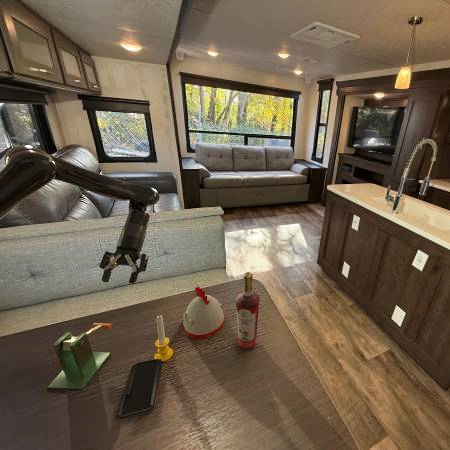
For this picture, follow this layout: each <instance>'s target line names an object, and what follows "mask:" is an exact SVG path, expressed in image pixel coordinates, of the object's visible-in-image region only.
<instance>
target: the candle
mask: <svg viewBox="0 0 450 450" xmlns="http://www.w3.org/2000/svg"><path fill="white" fill-rule="evenodd" d="M156 327H157V328H156V329H157V336H158V338H157V340H155V343H154V345H155V347H156V348H157V350H156V351H157V353H155V354H154V355H153V360H154V359H161V360H162V363H163V362H167V361H169V360H170V359H171V358H172V357H173V355H174V350H173V349H172V348H171V347H169V345H168V344H169V343H170V338H169V337H167V336H166V334H165V325H164V318H163V314H159V315H157V316H156Z"/></svg>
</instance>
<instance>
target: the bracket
mask: <svg viewBox="0 0 450 450" xmlns="http://www.w3.org/2000/svg"><path fill="white" fill-rule="evenodd" d="M71 337H73V334H72V332H71V331H66V332H65V333H64V334H62V336H61V337H60V338H59V339H58V340H57V341H55V342H54V343H53V344H52V347H53V349H54V352H55V354H56V357H57V359H58V361H59V363H60V366H61V369H62V370H61V371H60V372H59V373H58V375H57V376H56V377H55V378H54V379H53V380H52V381H51V382H50V383H49V384H48V385H47V387H46V389H49V390H77V391H79V390H80V391H81V390H82V391H83V390H84V389H85V388H86V386H87V385H88V384H89V383H90V382H91V380H92V379H93V377H94V376H95V375H96V374H97V372H98V371H99V370H100V369H101V367H102V366H103V365H104V364H105V362H106V361H107V359H108V358H109V357H110V356H111V353H112V352H105V351H102V352H101V351H93V349H92V347H91V343H90V341H89V337H87V334H86V332H81V333H80V334H79V335H78V336H76V337H77V338H76V339H75V340H74V341H73V342H72V343H71V344H70V345H69V347H70V350H71V351H64V350H63V341H65V340H67V339H69V338H71Z"/></svg>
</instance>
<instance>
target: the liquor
mask: <svg viewBox="0 0 450 450" xmlns="http://www.w3.org/2000/svg"><path fill="white" fill-rule="evenodd" d="M242 275H243V277H242V279H243V280H242V281H243V290H242V292H241V293H239V294H238V295H237V296H236V297H235V306H236V307H235V311H236V320H237V321H236V322H237V340H236V343H237V346H238V347H239V348H241V349H243V350H249V349H253V348H254V347H255V346H257V344H258V341H259V340H258V339H259V338H258V321H259V313H260V311H259V310H260V296H259V294H257V293H256V292H254V291H253V284H252V283H253V273H252V272H250V271H246V272H244V273H243V274H242Z"/></svg>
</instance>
